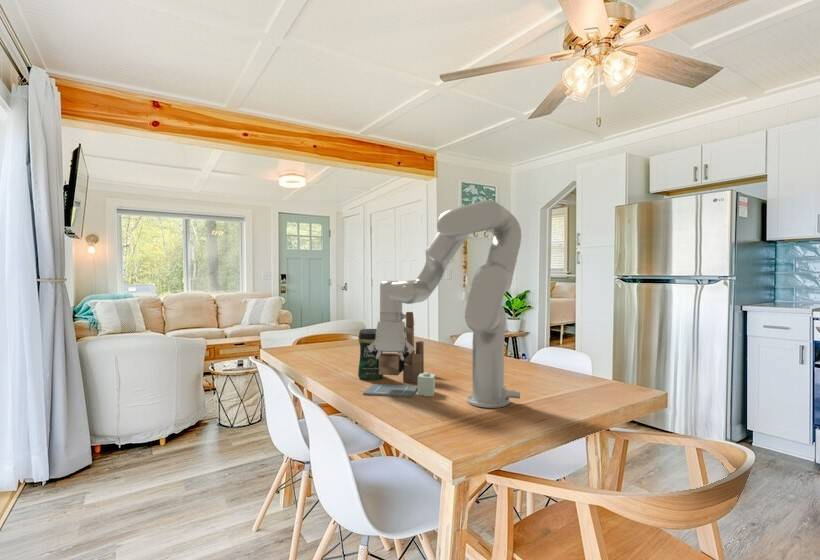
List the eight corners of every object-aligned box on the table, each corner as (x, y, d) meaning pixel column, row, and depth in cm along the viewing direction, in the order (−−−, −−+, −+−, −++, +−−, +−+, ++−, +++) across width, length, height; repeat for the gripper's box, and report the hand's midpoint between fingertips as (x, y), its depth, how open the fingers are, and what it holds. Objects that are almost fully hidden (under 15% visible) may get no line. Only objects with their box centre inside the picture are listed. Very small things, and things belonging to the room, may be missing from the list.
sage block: (435, 392, 140) (434, 372, 140) (432, 396, 135) (432, 375, 135) (420, 391, 141) (420, 371, 141) (417, 395, 136) (417, 374, 136)
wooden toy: (421, 382, 152) (421, 313, 152) (402, 382, 153) (402, 313, 153) (424, 372, 168) (423, 310, 168) (407, 372, 168) (406, 310, 168)
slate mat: (418, 387, 146) (418, 385, 146) (411, 397, 134) (411, 395, 134) (373, 385, 149) (373, 383, 149) (363, 394, 137) (363, 392, 137)
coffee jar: (356, 380, 157) (356, 330, 157) (360, 375, 165) (359, 327, 164) (382, 380, 156) (382, 330, 156) (384, 375, 164) (384, 327, 164)
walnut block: (402, 371, 144) (402, 353, 144) (397, 375, 138) (398, 357, 138) (383, 370, 145) (383, 352, 145) (378, 374, 139) (378, 356, 139)
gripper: (418, 317, 143) (417, 369, 144) (369, 315, 147) (368, 367, 147) (414, 319, 136) (414, 374, 136) (362, 318, 139) (362, 372, 140)
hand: (390, 370), depth 142 cm, fingers closed on walnut block, 6 cm apart
